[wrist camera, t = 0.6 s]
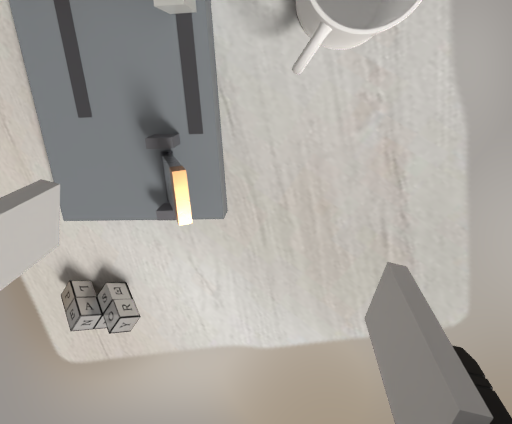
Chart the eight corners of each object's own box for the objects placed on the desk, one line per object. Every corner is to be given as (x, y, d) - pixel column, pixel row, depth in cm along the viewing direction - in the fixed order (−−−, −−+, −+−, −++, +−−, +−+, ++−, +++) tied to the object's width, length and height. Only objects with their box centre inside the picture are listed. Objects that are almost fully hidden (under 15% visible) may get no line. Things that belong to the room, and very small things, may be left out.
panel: (8, -76, 33) (-37, -100, 29) (202, -96, 31) (187, -124, 27) (76, 212, 43) (50, 229, 38) (227, 210, 41) (219, 227, 37)
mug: (321, 97, 36) (334, 108, 25) (254, 37, 35) (236, 20, 24) (413, -12, 32) (477, -56, 21) (341, -84, 31) (370, -172, 20)
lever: (159, 151, 36) (171, 169, 29) (171, 149, 37) (186, 167, 29) (166, 198, 38) (178, 227, 31) (177, 197, 39) (193, 225, 31)
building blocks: (102, 294, 49) (120, 345, 45) (60, 295, 45) (76, 351, 41) (119, 266, 48) (140, 316, 43) (78, 265, 43) (96, 320, 39)
